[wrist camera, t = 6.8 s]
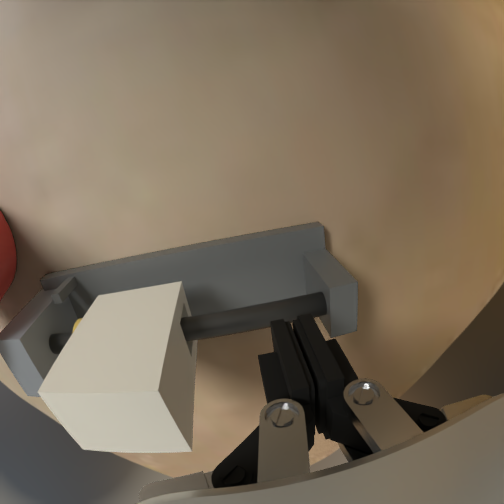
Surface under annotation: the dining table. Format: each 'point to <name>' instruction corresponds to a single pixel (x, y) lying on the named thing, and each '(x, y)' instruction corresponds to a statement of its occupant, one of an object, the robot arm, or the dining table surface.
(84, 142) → the dining table surface
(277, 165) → the dining table surface
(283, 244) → the grey slider rail
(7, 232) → the flower pot
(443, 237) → the dining table surface
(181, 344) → the white sliding block
